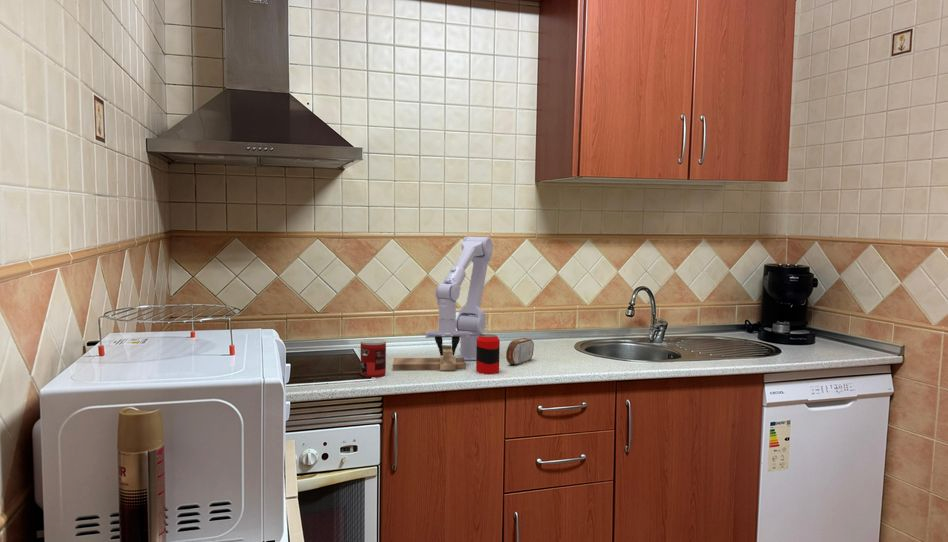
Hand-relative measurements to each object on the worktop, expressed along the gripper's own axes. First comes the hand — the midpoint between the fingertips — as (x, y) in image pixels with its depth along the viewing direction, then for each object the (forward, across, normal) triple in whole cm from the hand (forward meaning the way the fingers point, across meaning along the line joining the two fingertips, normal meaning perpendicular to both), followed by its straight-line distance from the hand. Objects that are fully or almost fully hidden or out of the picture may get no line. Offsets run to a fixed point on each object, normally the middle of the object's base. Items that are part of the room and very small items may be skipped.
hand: (447, 358), depth 218 cm
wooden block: (+2, 0, -1) cm, 3 cm away
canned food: (+3, -24, -11) cm, 27 cm away
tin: (+3, +26, +5) cm, 27 cm away
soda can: (+3, +13, -8) cm, 16 cm away
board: (+3, -6, 0) cm, 7 cm away
